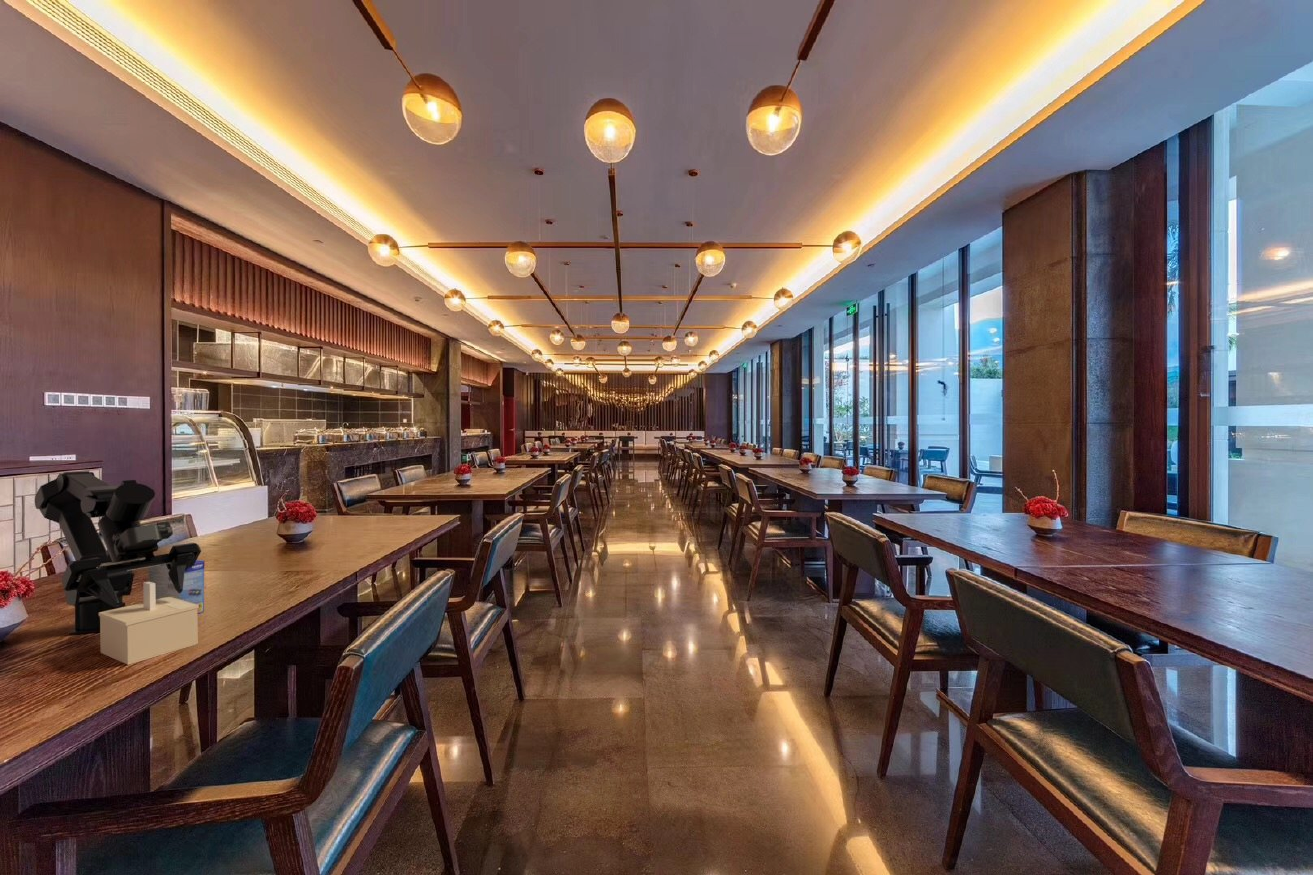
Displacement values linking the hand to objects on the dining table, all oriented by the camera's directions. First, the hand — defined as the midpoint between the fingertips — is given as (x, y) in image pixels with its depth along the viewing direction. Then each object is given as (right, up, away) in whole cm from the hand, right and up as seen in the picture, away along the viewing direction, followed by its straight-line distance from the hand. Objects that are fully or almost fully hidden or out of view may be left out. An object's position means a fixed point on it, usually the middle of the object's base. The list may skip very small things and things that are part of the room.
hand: (150, 598), depth 98 cm
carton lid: (0, -3, 0) cm, 3 cm away
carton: (0, -10, 0) cm, 10 cm away
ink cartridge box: (-13, -10, +19) cm, 25 cm away
